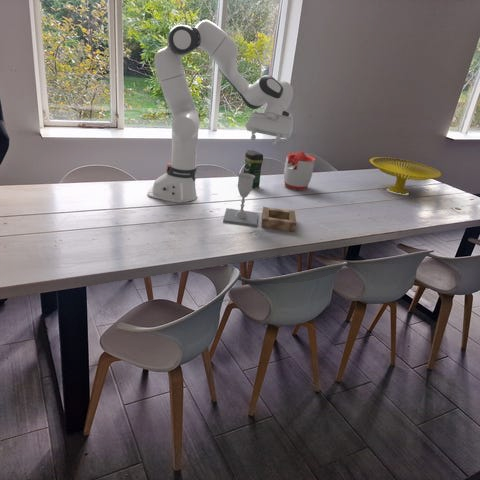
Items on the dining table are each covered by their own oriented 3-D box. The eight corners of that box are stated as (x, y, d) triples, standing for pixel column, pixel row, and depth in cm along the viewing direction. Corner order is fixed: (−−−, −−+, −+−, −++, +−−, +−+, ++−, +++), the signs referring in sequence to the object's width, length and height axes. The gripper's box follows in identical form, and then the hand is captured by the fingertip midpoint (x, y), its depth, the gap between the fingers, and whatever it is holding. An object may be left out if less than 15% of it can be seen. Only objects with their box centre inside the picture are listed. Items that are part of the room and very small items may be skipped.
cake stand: (393, 178, 277) (400, 156, 270) (448, 200, 247) (457, 175, 240) (348, 182, 256) (354, 157, 250) (402, 206, 226) (410, 179, 220)
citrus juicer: (273, 185, 232) (279, 149, 223) (291, 181, 244) (297, 146, 236) (297, 194, 223) (304, 156, 215) (315, 189, 236) (322, 153, 227)
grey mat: (223, 222, 178) (223, 220, 177) (226, 210, 191) (226, 208, 190) (256, 226, 178) (256, 224, 177) (257, 214, 190) (257, 212, 190)
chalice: (236, 219, 179) (242, 178, 172) (230, 213, 185) (234, 173, 177) (252, 218, 183) (258, 178, 175) (245, 212, 188) (250, 172, 180)
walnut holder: (261, 227, 178) (262, 218, 176) (261, 215, 190) (263, 206, 189) (294, 232, 178) (296, 223, 176) (293, 219, 190) (294, 211, 189)
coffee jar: (261, 188, 225) (266, 153, 217) (249, 189, 221) (253, 154, 213) (251, 182, 232) (256, 148, 225) (239, 183, 228) (243, 149, 220)
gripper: (250, 106, 186) (238, 132, 182) (295, 114, 179) (284, 141, 175) (253, 116, 192) (241, 141, 187) (296, 124, 185) (286, 150, 181)
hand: (262, 141), depth 181 cm, fingers open, 8 cm apart
